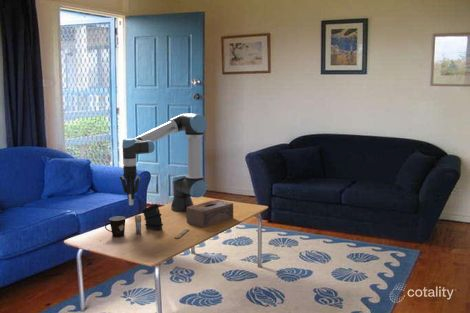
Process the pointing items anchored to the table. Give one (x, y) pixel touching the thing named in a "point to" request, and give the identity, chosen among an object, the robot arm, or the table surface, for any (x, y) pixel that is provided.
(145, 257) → the table surface
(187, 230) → the strip
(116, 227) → the coffee mug
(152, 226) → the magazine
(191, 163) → the robot arm
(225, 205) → the tissue box cover
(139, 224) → the metal flashlight
